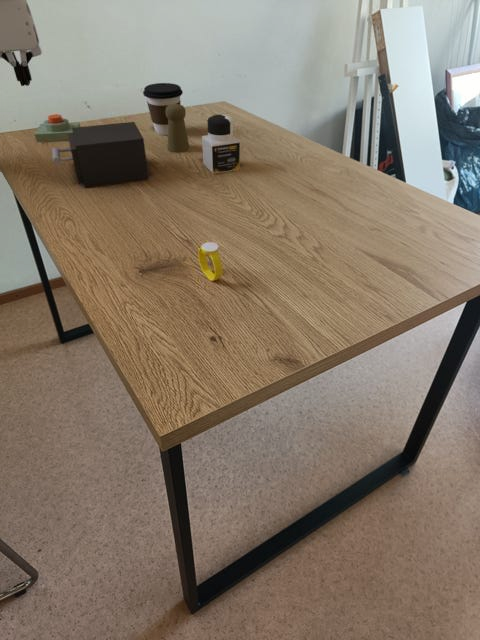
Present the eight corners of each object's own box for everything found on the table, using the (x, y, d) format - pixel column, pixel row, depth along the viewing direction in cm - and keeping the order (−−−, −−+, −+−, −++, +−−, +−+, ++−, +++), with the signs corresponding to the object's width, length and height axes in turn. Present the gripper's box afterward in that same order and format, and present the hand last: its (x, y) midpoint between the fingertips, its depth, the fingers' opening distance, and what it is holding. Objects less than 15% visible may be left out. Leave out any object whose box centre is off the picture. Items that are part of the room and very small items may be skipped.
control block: (36, 142, 126) (32, 127, 123) (42, 131, 132) (38, 117, 130) (77, 140, 127) (74, 125, 124) (80, 129, 134) (77, 115, 131)
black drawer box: (85, 188, 103) (75, 145, 97) (81, 167, 112) (72, 127, 106) (148, 179, 107) (143, 138, 101) (139, 160, 116) (134, 121, 110)
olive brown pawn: (163, 150, 121) (158, 106, 114) (174, 143, 126) (170, 100, 119) (183, 153, 120) (179, 109, 113) (193, 146, 124) (190, 103, 117)
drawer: (59, 186, 102) (49, 151, 96) (57, 167, 110) (48, 134, 105) (138, 176, 106) (133, 142, 101) (130, 159, 114) (125, 127, 109)
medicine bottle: (213, 174, 109) (211, 123, 102) (203, 164, 114) (200, 114, 107) (240, 170, 112) (240, 119, 104) (229, 160, 117) (228, 110, 109)
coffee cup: (148, 126, 137) (143, 82, 129) (185, 125, 138) (182, 82, 130) (147, 138, 128) (141, 92, 121) (185, 137, 129) (182, 92, 121)
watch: (195, 270, 78) (193, 240, 74) (209, 265, 79) (207, 235, 75) (212, 287, 74) (210, 257, 70) (226, 282, 75) (226, 252, 72)
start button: (48, 125, 126) (46, 118, 125) (50, 121, 128) (48, 114, 127) (61, 124, 126) (60, 117, 125) (63, 120, 129) (62, 114, 128)
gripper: (38, -15, 98) (60, 79, 110) (-35, -13, 96) (-5, 82, 108) (33, -11, 93) (57, 87, 105) (-45, -10, 90) (-12, 90, 102)
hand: (25, 84), depth 106 cm, fingers closed
